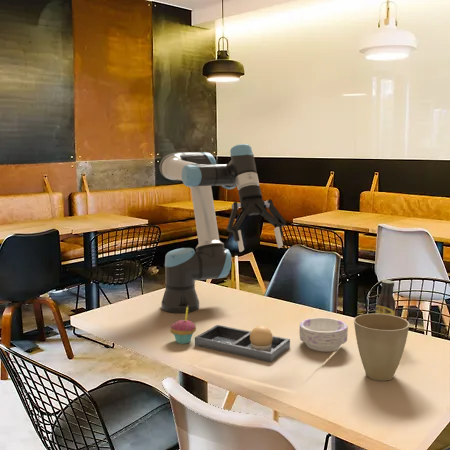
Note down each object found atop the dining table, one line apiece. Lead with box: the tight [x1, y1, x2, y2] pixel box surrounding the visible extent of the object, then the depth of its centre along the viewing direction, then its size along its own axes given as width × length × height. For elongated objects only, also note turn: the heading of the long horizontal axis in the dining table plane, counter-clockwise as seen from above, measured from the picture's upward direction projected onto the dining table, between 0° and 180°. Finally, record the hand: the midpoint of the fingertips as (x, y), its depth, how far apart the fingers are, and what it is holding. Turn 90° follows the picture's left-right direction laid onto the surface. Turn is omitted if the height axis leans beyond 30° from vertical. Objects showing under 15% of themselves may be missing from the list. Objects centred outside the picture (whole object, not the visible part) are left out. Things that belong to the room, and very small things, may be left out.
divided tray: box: [194, 324, 291, 364], centre depth 172 cm, size 27×14×4 cm, turn 60°
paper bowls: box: [299, 317, 349, 352], centre depth 173 cm, size 15×15×8 cm
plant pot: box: [353, 313, 410, 381], centre depth 152 cm, size 15×15×16 cm
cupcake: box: [170, 306, 197, 344], centre depth 178 cm, size 9×8×12 cm
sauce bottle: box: [375, 279, 397, 316], centre depth 180 cm, size 7×6×20 cm
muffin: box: [250, 325, 274, 352], centre depth 169 cm, size 7×7×8 cm
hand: (261, 248), depth 174 cm, fingers open, 13 cm apart
